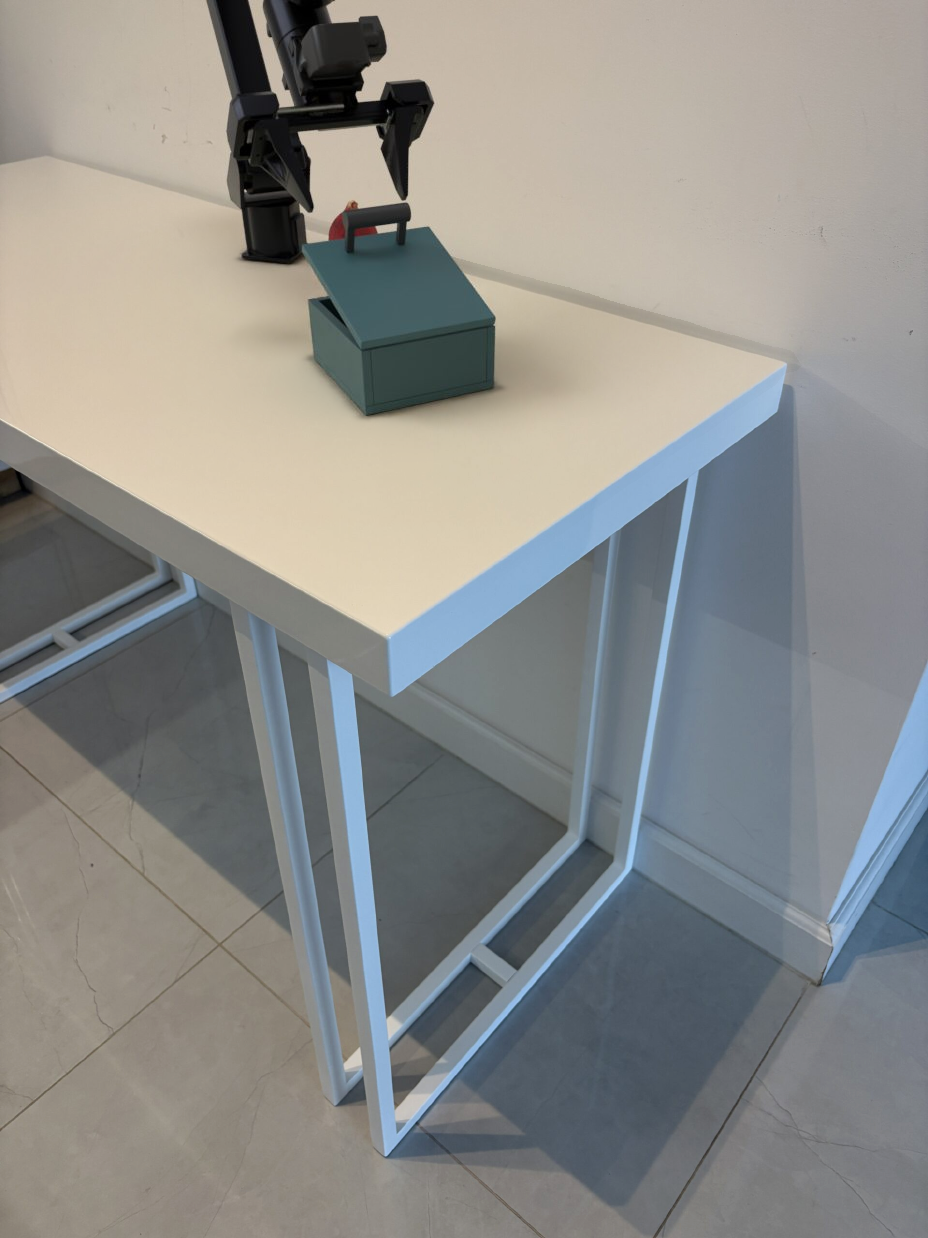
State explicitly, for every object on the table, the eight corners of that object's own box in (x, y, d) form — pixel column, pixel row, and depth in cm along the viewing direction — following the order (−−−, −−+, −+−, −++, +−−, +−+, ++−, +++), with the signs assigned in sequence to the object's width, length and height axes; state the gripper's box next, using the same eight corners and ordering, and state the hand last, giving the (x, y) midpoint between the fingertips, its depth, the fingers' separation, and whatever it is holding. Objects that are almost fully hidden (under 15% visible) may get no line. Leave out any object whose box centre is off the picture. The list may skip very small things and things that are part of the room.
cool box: (313, 358, 90) (307, 298, 87) (431, 335, 95) (430, 278, 91) (365, 415, 81) (361, 351, 77) (494, 387, 85) (495, 325, 82)
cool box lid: (301, 251, 84) (301, 203, 81) (428, 233, 89) (433, 186, 85) (360, 350, 77) (363, 302, 74) (495, 324, 82) (503, 278, 78)
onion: (373, 283, 107) (369, 209, 102) (325, 280, 108) (318, 206, 103) (385, 266, 111) (382, 195, 106) (339, 263, 112) (333, 192, 107)
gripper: (213, -18, 76) (271, 161, 75) (423, -26, 82) (478, 138, 81) (205, 77, 86) (256, 235, 85) (392, 63, 92) (441, 210, 92)
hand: (359, 203), depth 86 cm, fingers open, 9 cm apart
